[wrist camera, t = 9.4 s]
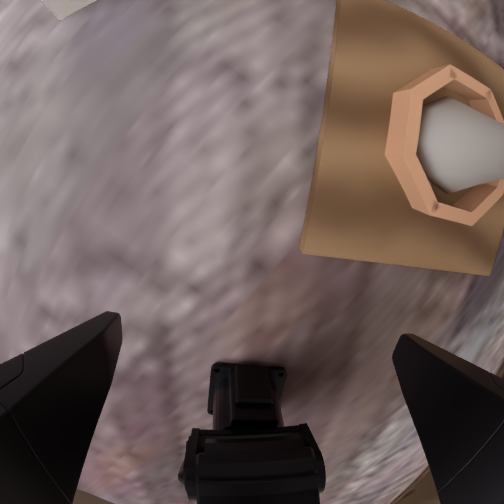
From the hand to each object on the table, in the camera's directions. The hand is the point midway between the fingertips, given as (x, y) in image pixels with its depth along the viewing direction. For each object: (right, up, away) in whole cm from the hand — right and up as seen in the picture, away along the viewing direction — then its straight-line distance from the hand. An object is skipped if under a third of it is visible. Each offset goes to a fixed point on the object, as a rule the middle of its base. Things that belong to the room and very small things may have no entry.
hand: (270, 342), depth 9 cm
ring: (+14, +11, +10) cm, 20 cm away
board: (+14, +11, +11) cm, 21 cm away
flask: (+14, +11, +10) cm, 20 cm away
